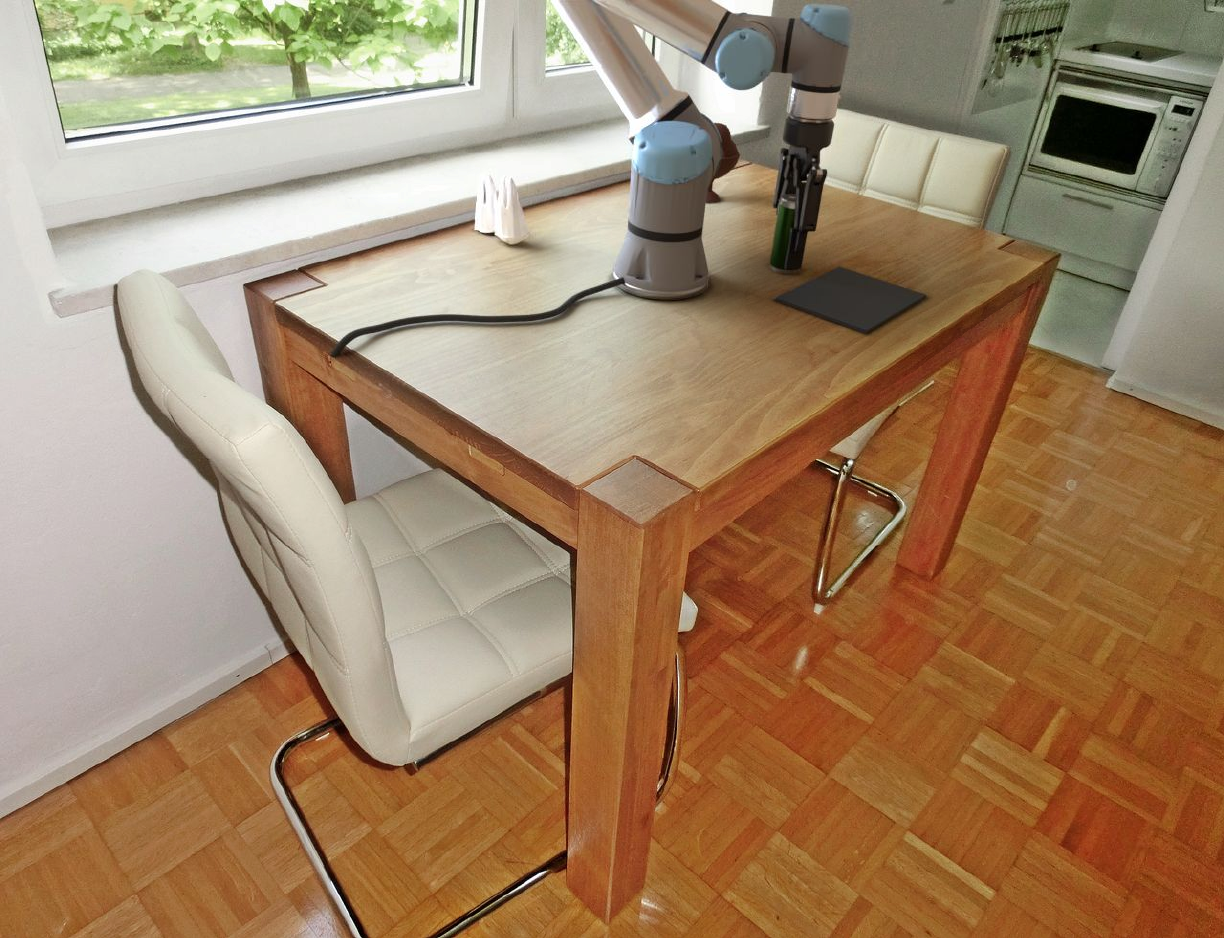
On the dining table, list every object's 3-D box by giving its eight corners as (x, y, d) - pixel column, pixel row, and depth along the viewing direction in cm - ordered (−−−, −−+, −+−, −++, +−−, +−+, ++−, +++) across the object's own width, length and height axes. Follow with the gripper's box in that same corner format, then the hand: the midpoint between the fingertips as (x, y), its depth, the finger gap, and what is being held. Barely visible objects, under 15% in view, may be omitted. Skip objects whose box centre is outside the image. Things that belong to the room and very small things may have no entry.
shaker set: (531, 245, 154) (531, 181, 148) (510, 250, 152) (510, 184, 146) (492, 225, 162) (491, 163, 155) (472, 229, 159) (470, 166, 153)
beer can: (764, 269, 151) (775, 198, 144) (775, 260, 155) (787, 190, 148) (794, 277, 149) (807, 205, 142) (805, 267, 153) (818, 197, 146)
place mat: (866, 334, 131) (867, 330, 131) (774, 300, 140) (775, 297, 140) (925, 298, 144) (926, 294, 144) (838, 269, 153) (839, 266, 152)
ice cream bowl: (742, 197, 184) (752, 121, 175) (717, 210, 176) (727, 131, 167) (696, 187, 188) (704, 112, 180) (670, 199, 180) (677, 121, 172)
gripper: (858, 132, 131) (828, 281, 144) (809, 104, 146) (786, 242, 159) (811, 132, 130) (785, 283, 143) (766, 103, 145) (746, 242, 158)
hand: (786, 261), depth 151 cm, fingers closed on beer can, 5 cm apart
